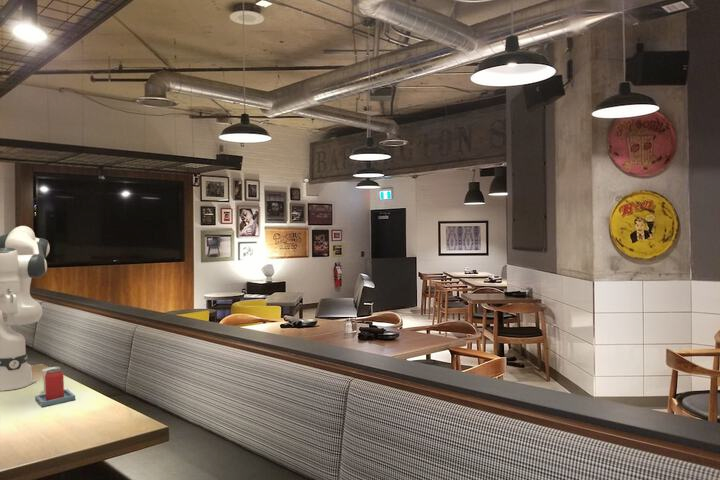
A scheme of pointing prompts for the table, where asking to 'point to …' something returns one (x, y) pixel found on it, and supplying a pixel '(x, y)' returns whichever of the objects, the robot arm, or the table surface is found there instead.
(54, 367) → the white coffee cup
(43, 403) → the slate tray
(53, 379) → the beer can
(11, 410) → the table surface
